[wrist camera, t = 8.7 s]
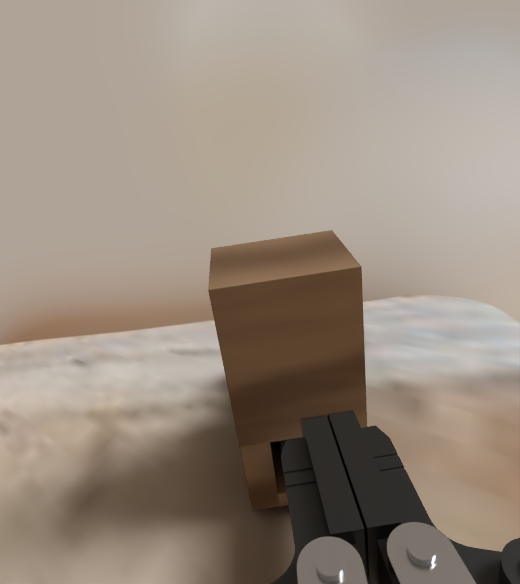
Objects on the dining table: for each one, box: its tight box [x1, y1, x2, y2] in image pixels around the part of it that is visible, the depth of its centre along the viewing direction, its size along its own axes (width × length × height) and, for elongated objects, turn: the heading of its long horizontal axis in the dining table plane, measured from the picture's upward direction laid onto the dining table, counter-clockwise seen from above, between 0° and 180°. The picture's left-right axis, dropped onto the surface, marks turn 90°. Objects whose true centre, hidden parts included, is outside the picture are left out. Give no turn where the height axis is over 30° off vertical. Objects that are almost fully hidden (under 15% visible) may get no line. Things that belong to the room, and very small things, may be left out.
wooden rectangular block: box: [208, 230, 367, 511], centre depth 22 cm, size 5×6×12 cm
